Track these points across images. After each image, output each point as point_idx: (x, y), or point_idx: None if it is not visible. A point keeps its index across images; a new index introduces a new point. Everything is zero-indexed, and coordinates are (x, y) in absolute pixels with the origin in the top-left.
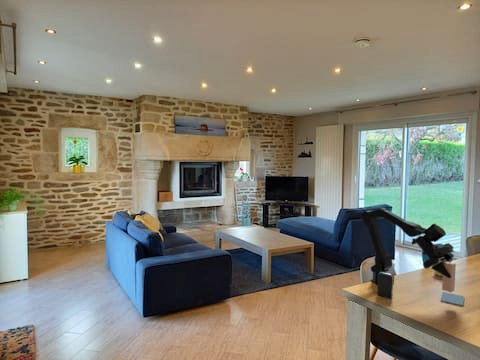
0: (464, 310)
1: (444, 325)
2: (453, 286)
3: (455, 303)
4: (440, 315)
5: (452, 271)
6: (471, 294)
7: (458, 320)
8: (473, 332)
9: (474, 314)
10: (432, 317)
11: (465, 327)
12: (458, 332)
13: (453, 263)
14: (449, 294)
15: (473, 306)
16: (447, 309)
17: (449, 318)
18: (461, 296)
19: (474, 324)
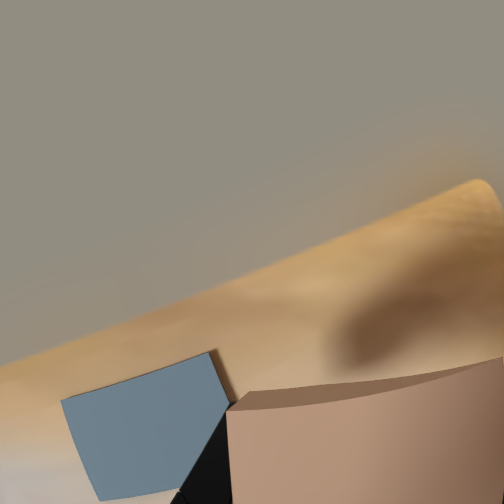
0: (264, 322)
1: (493, 276)
2: (275, 390)
3: (223, 390)
4: (442, 343)
5: (382, 381)
6: (3, 383)
7: (415, 274)
8: (444, 198)
9: (270, 269)
10: (484, 343)
11: (440, 228)
12: (486, 225)
13: (308, 460)
14: (104, 465)
15: (153, 320)
16: (343, 376)
17: (433, 304)
18: (75, 409)
19: (385, 221)
